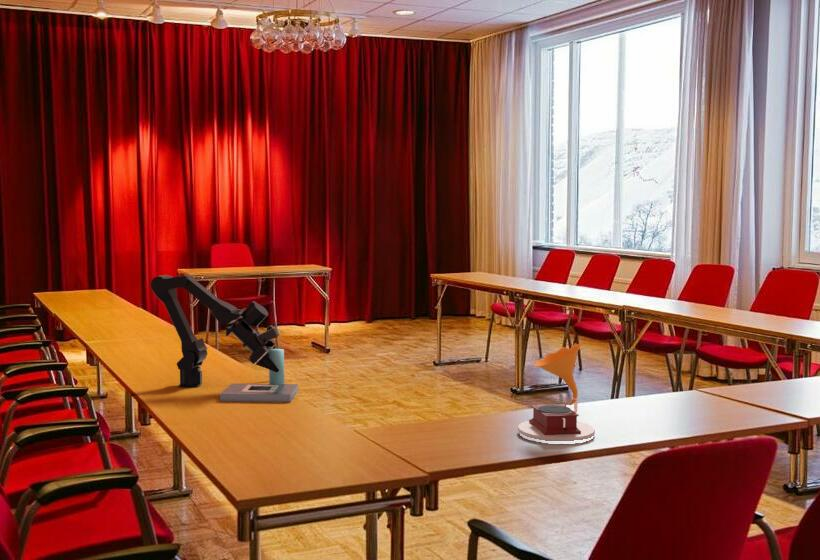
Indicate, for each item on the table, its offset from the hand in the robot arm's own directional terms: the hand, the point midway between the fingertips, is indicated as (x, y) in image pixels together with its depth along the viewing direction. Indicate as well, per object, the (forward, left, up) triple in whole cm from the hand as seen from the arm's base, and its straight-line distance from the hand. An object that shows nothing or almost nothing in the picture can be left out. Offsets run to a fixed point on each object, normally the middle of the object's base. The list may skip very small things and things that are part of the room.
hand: (280, 368), depth 302 cm
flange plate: (-4, -13, -7) cm, 15 cm away
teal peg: (-1, 0, -7) cm, 7 cm away
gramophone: (+85, -56, -7) cm, 102 cm away
